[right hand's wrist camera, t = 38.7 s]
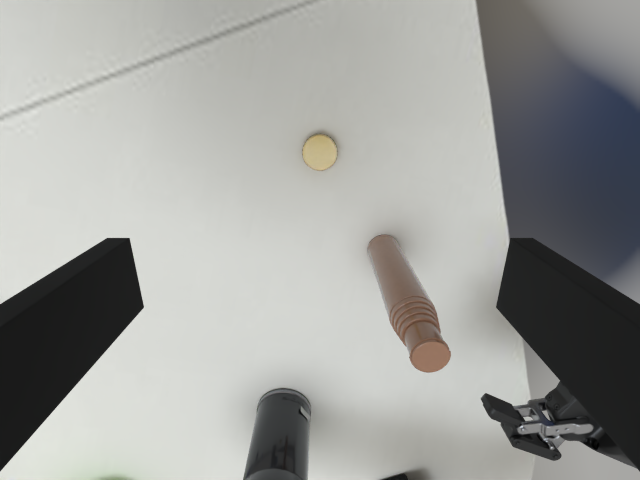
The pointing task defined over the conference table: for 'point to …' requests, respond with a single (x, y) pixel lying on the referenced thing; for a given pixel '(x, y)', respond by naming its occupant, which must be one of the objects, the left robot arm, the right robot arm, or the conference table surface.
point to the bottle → (408, 305)
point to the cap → (319, 152)
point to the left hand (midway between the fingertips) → (512, 372)
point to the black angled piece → (399, 477)
